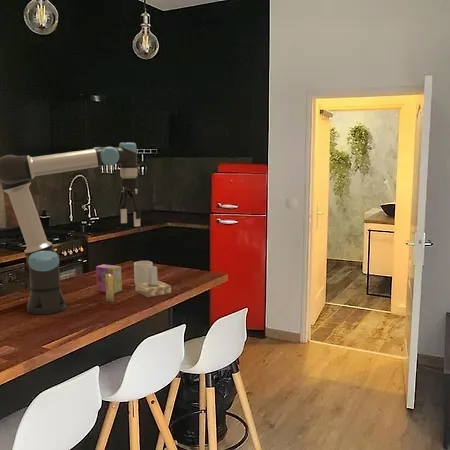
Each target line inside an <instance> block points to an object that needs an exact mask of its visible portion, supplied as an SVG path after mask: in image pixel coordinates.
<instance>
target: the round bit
mask: <svg viewBox="0 0 450 450" xmlns="http://www.w3.org/2000/svg"><path fill="white" fill-rule="evenodd" d="M105 294H106V295H105V296H106V303H114V302H115V293H114V284H113V274H106V292H105Z"/></svg>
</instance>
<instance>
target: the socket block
mask: <svg viewBox="0 0 450 450" xmlns="http://www.w3.org/2000/svg"><path fill="white" fill-rule="evenodd" d="M134 286H135V292H136V294H139V295H141V296H144V297H145V298H151V297H157V296H163V295H167V294H172V285H170V284H167V283H165V282H162V281H160V280H158V286H153V287H150V286H149V282H147V283H141V284H135V283H134Z"/></svg>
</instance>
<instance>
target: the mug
mask: <svg viewBox="0 0 450 450" xmlns="http://www.w3.org/2000/svg"><path fill="white" fill-rule="evenodd" d="M151 266H154V265H153V261H150V260H139V261H135V262H134V263H133V271H134V272H133V275H134V279H133V280H134V285H135V284H141V283H147V282H149V276H148V267H151Z"/></svg>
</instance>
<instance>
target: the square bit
mask: <svg viewBox="0 0 450 450" xmlns="http://www.w3.org/2000/svg"><path fill="white" fill-rule="evenodd" d="M148 276H149V286H150V287H153V286H158V281H159V280H158V266H154V265H153V266H151V267H148Z"/></svg>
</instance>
